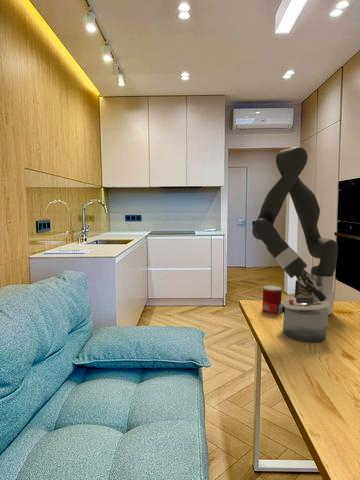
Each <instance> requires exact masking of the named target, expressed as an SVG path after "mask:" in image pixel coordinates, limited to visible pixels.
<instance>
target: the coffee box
mask: <svg viewBox="0 0 360 480" xmlns="http://www.w3.org/2000/svg"><path fill="white" fill-rule="evenodd" d="M299 284H300V282H299V281H298V279H296V280H295V287H294V288H295V289H294V298H295V297H297V296H307V297H316V296H315V295H314V294H312V293H309V292H308V291H306V290H305V289H304V288H302V287H301V286H300V285H299ZM318 285H319V290H320V291H321V292H322V284H320V283H318Z"/></svg>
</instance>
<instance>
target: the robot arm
mask: <svg viewBox="0 0 360 480" xmlns="http://www.w3.org/2000/svg"><path fill="white" fill-rule="evenodd" d="M307 162H308V152H307V151H306V149H305V148H304V147H302V146H293V147H290V148H289V147H288V148H285V149H281V150H280V151H278V152H277V153H276V157H275V164H276V167H277V169H278V172H279V174H280V176H281V177H280V178H279V180H277V181H276V183H275V184H274V185H273V186H272V187H271V189H270V190H269V191H268V193H267V194H266V196H265V198H264V201H263V202H262V204H261V208H260V212H259V215H258V216H257V219H256V220H255V221H254V222H253V224H252V228H251V229H252V231H251V232H252V235H253V237H254V238H255V239H256V240H258V241H262V242H263V244H265V247H266V249H267V251H268V253H269V254H270V255H271V256H272V257H273V258H274V259H275V260H276V261H275V262H277V264H278V265H279V266H280V267H281V269H282V270H283V271H284V272H285V273H286V274H287V275H288V276H289V278H291V279H293V278H294V277H295V278H296V280H298V281H299V282H300V284H299V285H300V286H301V287H302V288H304V289H305V290H306V291H308V292H309V293H312V294H314V295H315V296H316V297H317V298H318V299H319V300H320V301H321V302H322V301H324V300H325V299H326V300H328V301H329V306H328V307H327V308H326V309H327V310H328V316H330V315H331V314H333V312H334V311H333V310H334V297H335V296H334V295H335V291H333V289H334V288H333V287H334V286H333V285H334V273H335V270H336V268H337V260H338V254H339V253H338V252H339V247H338V244H337V242H336V241H335V240H334V239H331V238H325V237H322V235H321V234H320V231H319V227H318V223H319V218H320V215H321V209H320V208H321V207H320V205H319V202H318V199H317V196H316V195H315V193H314V192H313V191H312V189H310V188H309V187H308V186H307V185H306V184H305V183H304V182H303V181H302V180H301V178H300V174H301V173H302V171H303V170H304V168H305V167H306V164H307ZM288 194H289V195H290V198H291V201H292V204H293V206H294V209H295V212H296V215H297V217H298V219H299V223H300V225H301V228H302V232H303V235H304V239H305V244H306V246H307V251H308V253H309V254H310V256H311V257H312V258H315V259H319V264H318V265H314V266H312V267H311V269H310V272H307V270H305V269H307V268H306V267H308V265H307V263H306V262H305V261H304V260H303V259H302V257H301V256H300V255H299V254H298V253H297V252H296V251H295V250H294V249H293V248H292V247H290V245H289V244H288V243H287V242H286V241H285V240H284V238H282V236H281V235H280V233H279V232H278V231H277V229H276V228H275V226H274V224H275V221H276V219H277V217H278V215H279V213H280V211H281V209H282V207H283V206H284V205H283V204H284V201H285V200H286V198H287V196H288ZM318 283H320V284H322V292H321V291H320V290H319V285H318Z"/></svg>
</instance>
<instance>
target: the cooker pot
mask: <svg viewBox="0 0 360 480" xmlns="http://www.w3.org/2000/svg"><path fill="white" fill-rule="evenodd" d="M278 313H279V314H281V315H283V320H282V321H283V322H282V323H283V324H282V334H283V335H284V336H285V337H286V338H288V339H291V340H292V339H293V340H292V341H295V340H296V342H299V341H300V342H301V343H304V342H305V343H307V344H319V343H323V342H325V341H326V340H327V328H328V316H329V315H328V310H327V309H326V308H324V309H320V310H311V311H300V310H292V309H287V308H285V307H284V306H283V302H281V305H279V306H278Z"/></svg>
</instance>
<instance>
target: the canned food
mask: <svg viewBox="0 0 360 480" xmlns="http://www.w3.org/2000/svg"><path fill="white" fill-rule="evenodd" d="M282 290H283V289H282V287H281V286H277V285H270V284H269V285H264V286H263V287H262V306H261V307H262V309H261V310H262V311H263V312H264V313H265V314H268V313H269V314H268V315H279V314H280V313H278V306H279V305H281V304H282V294H283V293H282Z"/></svg>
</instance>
